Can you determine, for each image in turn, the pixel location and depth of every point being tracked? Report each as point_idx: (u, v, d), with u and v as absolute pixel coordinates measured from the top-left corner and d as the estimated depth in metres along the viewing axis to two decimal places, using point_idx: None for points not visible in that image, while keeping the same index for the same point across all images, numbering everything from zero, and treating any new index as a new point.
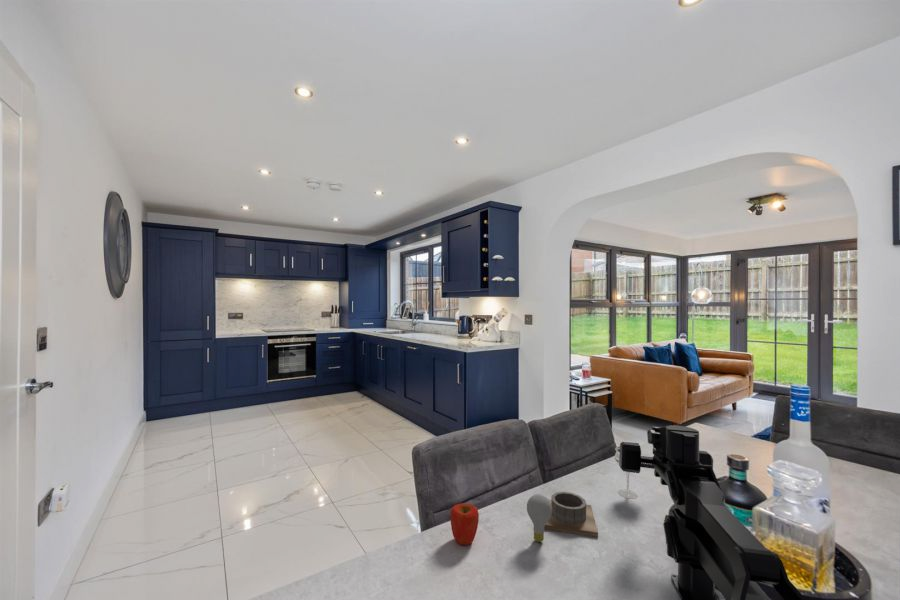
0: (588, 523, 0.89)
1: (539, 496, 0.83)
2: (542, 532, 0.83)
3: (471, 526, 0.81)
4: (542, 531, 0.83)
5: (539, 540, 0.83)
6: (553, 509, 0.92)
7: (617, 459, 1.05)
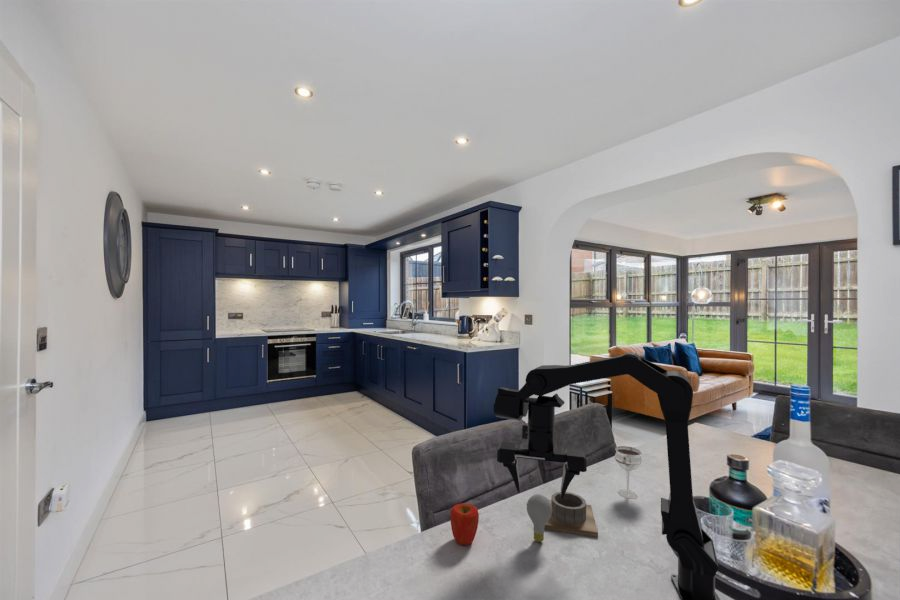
0: (588, 523, 0.89)
1: (539, 496, 0.83)
2: (542, 532, 0.83)
3: (471, 526, 0.81)
4: (542, 531, 0.83)
5: (539, 540, 0.83)
6: (553, 509, 0.92)
7: (617, 459, 1.05)
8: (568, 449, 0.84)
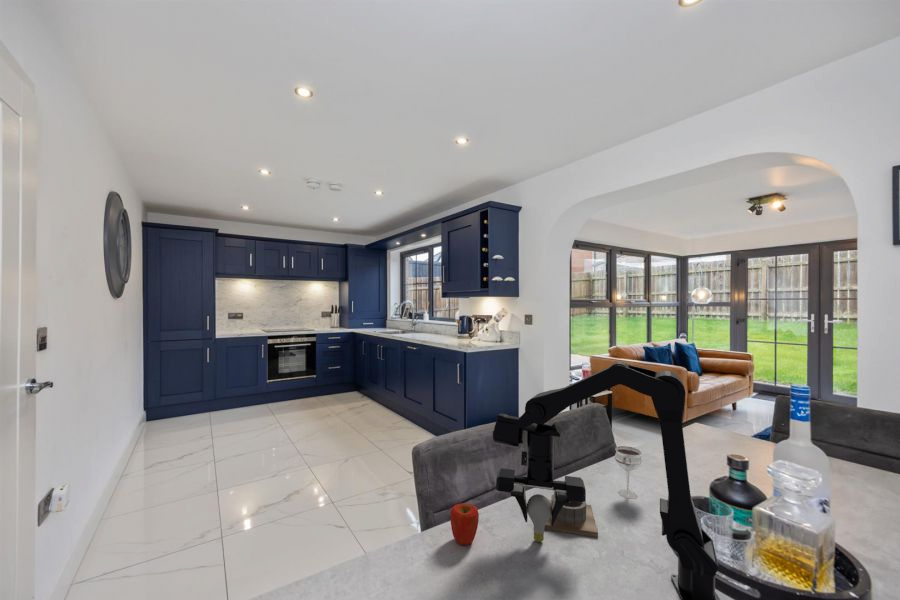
0: (588, 523, 0.89)
1: (539, 496, 0.83)
2: (542, 532, 0.83)
3: (471, 526, 0.81)
4: (542, 531, 0.83)
5: (539, 540, 0.83)
6: None
7: (617, 459, 1.05)
8: (567, 477, 0.84)
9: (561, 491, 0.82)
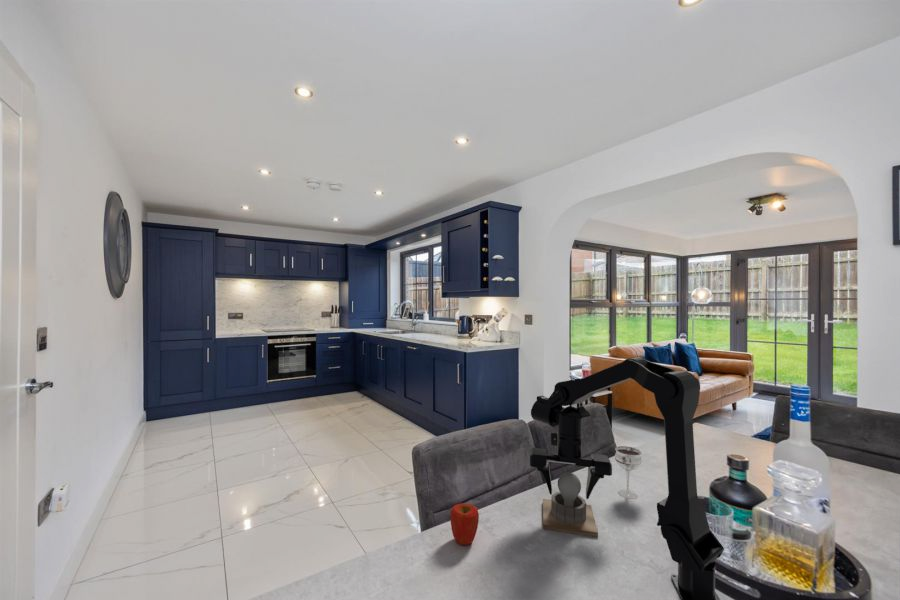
0: (588, 523, 0.89)
1: (569, 473, 0.92)
2: (572, 506, 0.92)
3: (471, 526, 0.81)
4: (572, 505, 0.92)
5: None
6: (553, 509, 0.92)
7: (617, 459, 1.05)
8: (594, 455, 0.93)
9: None
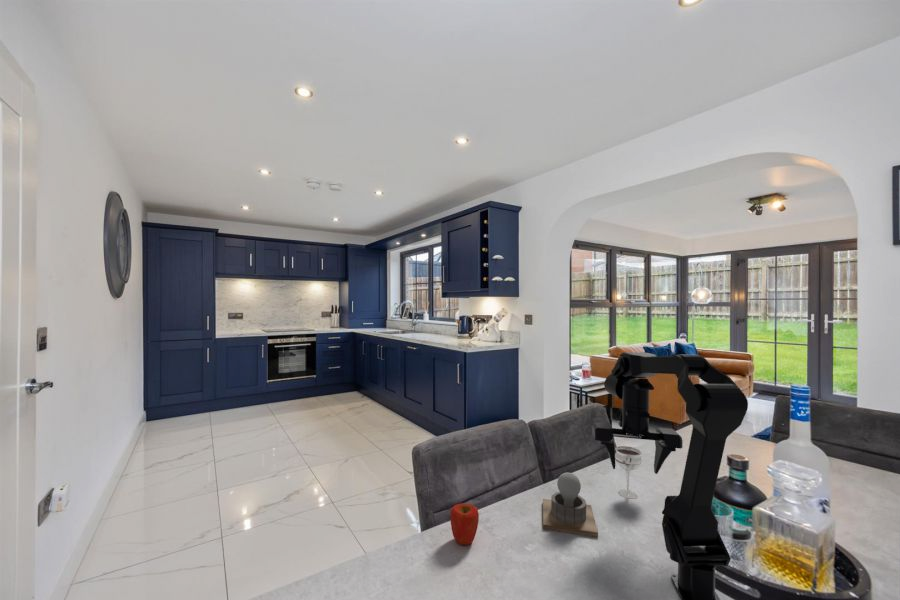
0: (588, 523, 0.89)
1: (569, 474, 0.92)
2: (572, 506, 0.92)
3: (471, 526, 0.81)
4: (572, 505, 0.92)
5: None
6: (553, 509, 0.92)
7: (617, 459, 1.05)
8: (660, 428, 0.90)
9: None
